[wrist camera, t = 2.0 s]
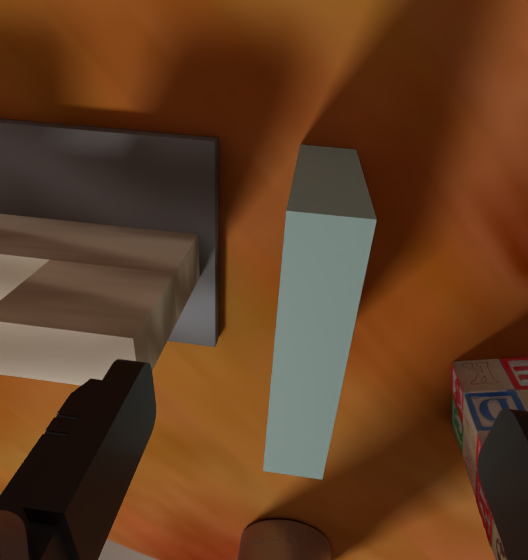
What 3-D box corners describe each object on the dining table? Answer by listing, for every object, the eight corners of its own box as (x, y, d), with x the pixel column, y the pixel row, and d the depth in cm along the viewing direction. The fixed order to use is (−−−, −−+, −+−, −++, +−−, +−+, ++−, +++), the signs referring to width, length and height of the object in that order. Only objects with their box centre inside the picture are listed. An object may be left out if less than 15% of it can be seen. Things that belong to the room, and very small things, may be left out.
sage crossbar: (322, 350, 29) (322, 479, 21) (280, 345, 30) (263, 470, 21) (356, 149, 22) (376, 219, 14) (300, 144, 23) (286, 210, 14)
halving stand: (218, 337, 30) (170, 475, 21) (-41, 305, 32) (-196, 420, 22) (218, 137, 23) (145, 208, 13) (-117, 108, 24) (-394, 153, 15)
